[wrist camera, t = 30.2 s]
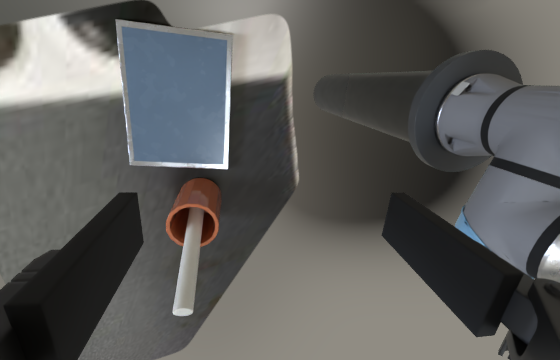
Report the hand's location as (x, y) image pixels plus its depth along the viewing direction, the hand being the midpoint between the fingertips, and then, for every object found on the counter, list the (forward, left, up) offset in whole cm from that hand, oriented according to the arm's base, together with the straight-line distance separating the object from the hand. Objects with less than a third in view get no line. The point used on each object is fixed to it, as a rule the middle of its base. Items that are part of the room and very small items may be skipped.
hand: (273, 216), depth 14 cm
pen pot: (+7, +13, -31) cm, 35 cm away
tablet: (+10, -2, -31) cm, 33 cm away
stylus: (+7, +11, -31) cm, 34 cm away
